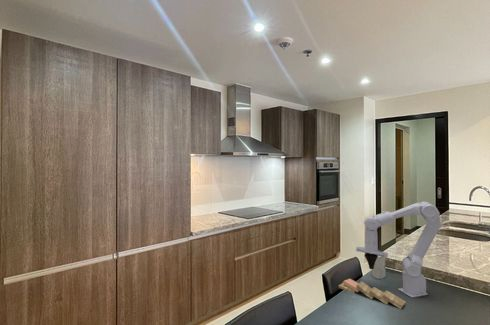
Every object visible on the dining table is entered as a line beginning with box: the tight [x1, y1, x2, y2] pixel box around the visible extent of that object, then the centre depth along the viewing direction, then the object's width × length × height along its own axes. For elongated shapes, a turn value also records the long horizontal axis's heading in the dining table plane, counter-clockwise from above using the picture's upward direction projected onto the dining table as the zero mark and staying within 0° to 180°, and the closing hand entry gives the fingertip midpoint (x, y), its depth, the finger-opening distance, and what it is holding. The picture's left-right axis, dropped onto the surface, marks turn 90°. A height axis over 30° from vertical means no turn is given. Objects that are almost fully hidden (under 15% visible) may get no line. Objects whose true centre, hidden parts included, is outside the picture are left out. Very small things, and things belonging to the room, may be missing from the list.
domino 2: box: [342, 278, 361, 293], centre depth 132 cm, size 2×5×8 cm
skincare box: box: [371, 256, 386, 280], centre depth 146 cm, size 6×4×12 cm
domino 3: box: [356, 280, 375, 300], centre depth 127 cm, size 2×5×8 cm
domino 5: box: [382, 290, 406, 310], centre depth 119 cm, size 2×5×8 cm
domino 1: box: [338, 281, 357, 294], centre depth 133 cm, size 2×5×8 cm
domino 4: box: [369, 286, 390, 305], centre depth 123 cm, size 2×5×8 cm
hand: (371, 268), depth 134 cm, fingers closed
